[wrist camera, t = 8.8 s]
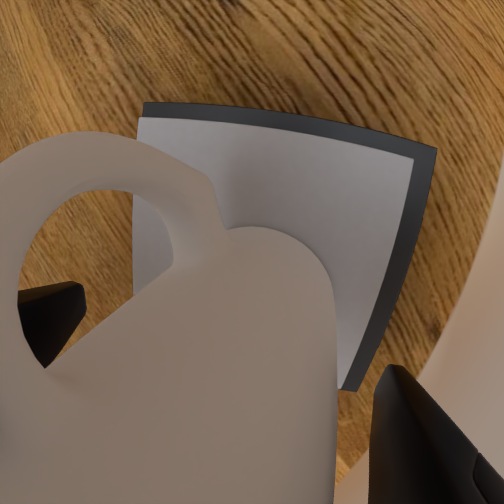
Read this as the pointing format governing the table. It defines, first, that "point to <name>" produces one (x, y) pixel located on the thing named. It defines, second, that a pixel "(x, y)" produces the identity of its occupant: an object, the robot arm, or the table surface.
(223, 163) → the scale
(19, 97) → the table surface
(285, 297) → the mug
